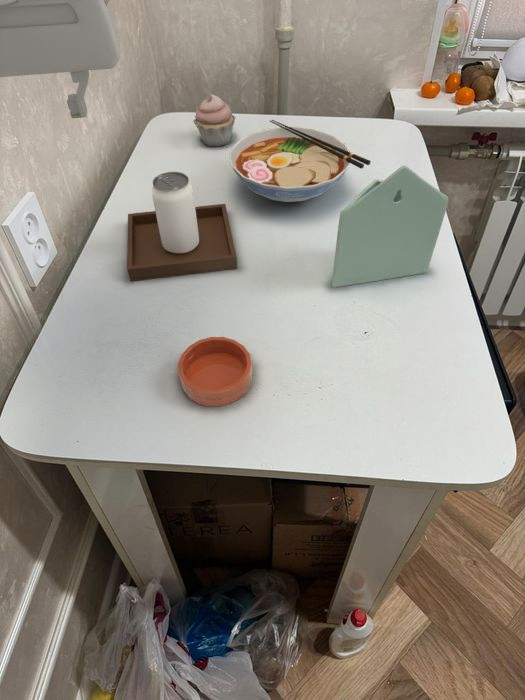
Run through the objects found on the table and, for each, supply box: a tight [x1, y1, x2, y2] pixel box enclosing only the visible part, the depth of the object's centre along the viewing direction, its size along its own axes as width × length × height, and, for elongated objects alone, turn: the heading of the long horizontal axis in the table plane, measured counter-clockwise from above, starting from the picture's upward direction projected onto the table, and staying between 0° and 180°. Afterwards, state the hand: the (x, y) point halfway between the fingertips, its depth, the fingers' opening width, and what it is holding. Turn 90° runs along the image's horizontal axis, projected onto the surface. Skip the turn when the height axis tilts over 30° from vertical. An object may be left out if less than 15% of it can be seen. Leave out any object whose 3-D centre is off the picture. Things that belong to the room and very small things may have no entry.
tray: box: [126, 203, 238, 282], centre depth 86 cm, size 18×16×2 cm
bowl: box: [177, 336, 253, 408], centre depth 67 cm, size 10×10×3 cm
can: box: [151, 171, 199, 254], centre depth 82 cm, size 6×6×12 cm
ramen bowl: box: [228, 119, 371, 203], centre depth 96 cm, size 25×23×8 cm
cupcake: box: [192, 93, 236, 147], centre depth 109 cm, size 9×9×10 cm
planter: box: [331, 165, 449, 289], centre depth 76 cm, size 16×8×20 cm, turn 102°
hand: (32, 119), depth 51 cm, fingers open, 8 cm apart
